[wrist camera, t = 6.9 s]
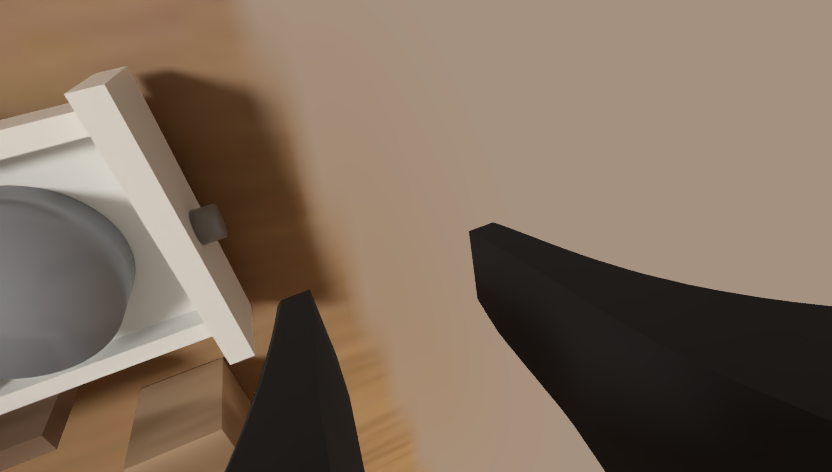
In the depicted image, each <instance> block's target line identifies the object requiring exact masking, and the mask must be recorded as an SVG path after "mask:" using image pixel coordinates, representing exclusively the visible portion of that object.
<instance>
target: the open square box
mask: <svg viewBox="0 0 832 472" xmlns="http://www.w3.org/2000/svg"><path fill="white" fill-rule="evenodd" d="M79 387H80V386H77V387H74V388H71V389H69V390H66V391H63V392H61V393H58V394H55V395H53V396H50V397H47V398H45V399H42V400H39V401H37V402H34V403H31V404H28V405H26V406H23V407H20V408H18V409H15V410H12V411H10V412H7V413H4V414H2V415H0V471H2V470H5V469H8V468H10V467H13V466H15V465H18V464H20V463H23V462H25V461H28V460H30V459H33V458H35V457H38V456H40V455H43V454H45V453H48V452H51V451H53V450H56V449H57V447H58V444H59V441H60V439H61V436H62V433H63V430H64V428H65V425H66V422H67V420H68V417H69V414H70V412H71V409H72V406H73V403H74V401H75V398H76V395H77V393H78V390H79Z"/></svg>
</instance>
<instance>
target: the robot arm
mask: <svg viewBox="0 0 832 472" xmlns="http://www.w3.org/2000/svg"><path fill="white" fill-rule="evenodd" d="M469 235H470V243H471V251H472V258H473V266H474V274H475V282H476V290H477V298H478V300H479V302H480V303H481V305H482V307H483V308H484V310H485V312H486V313H487V315H488V317H489V318H490V319H491V321H492V322H493V324H494V326H495V327H496V329H497V331H498V332H499V334H500V335H501V336H502V337H503V338H504V340H505V341H506V342H507V343H508V345H509V346H510V347H511V348H512V349H513V351H514V352H515V353H516V355H517V356H518V357H519V358H520V359H521V361H522V362H523V363H524V364H525V365H526V367H527V368H528V369H529V370H530V371H531V373H532V374H533V375H534V376H535V377H536V379H537V380H538V381H539V382H540V383H541V385H542V386H543V387H544V388H545V390H546V391H547V392H548V393H549V394H550V395H551V397H552V398H553V399H554V400H555V401H556V403H557V404H558V405H559V406H560V408H561V409H562V410H563V412H564V413H565V414H566V415H567V417H568V418H569V419H570V421H571V422H572V423H573V425H574V426H575V427H576V429H577V430H578V432H579V433H580V435H581V436H582V438H583V439H584V441H585V442H586V444H587V445H588V447H589V448H590V449H591V451H592V452H593V454H594V455H595V457H596V458H597V460H598V461H599V463H600V464H601V466H602V467H603V469H604V470H605V472H832V306H824V305H815V304H806V303H797V302H789V301H782V300H774V299H767V298H760V297H754V296H748V295H742V294H736V293H729V292H724V291H718V290H713V289H708V288H703V287H697V286H693V285H687V284H684V283H679V282H675V281H670V280H666V279H662V278H658V277H654V276H650V275H646V274H642V273H638V272H635V271H631V270H628V269H624V268H621V267H618V266H614V265H611V264H608V263H605V262H601V261H598V260H595V259H592V258H589V257H586V256H583V255H580V254H578V253H575V252H572V251H569V250H566V249H563V248H561V247H558V246H555V245H552V244H550V243H547V242H545V241H542V240H539V239H537V238H534V237H531V236H529V235H526V234H524V233H521V232H518V231H515V230H513V229H510V228H507V227H505V226H502V225H499V224H496V223H490V224H488V225H485V226H482V227H479V228H477V229H474V230H471V231H469ZM224 472H365V471H364V466H363V461H362V456H361V451H360V446H359V441H358V436H357V431H356V427H355V422H354V417H353V412H352V407H351V402H350V397H349V394H348V391H347V387H346V384H345V381H344V378H343V375H342V372H341V368H340V365H339V362H338V359H337V356H336V353H335V351H334V348H333V346H332V344H331V341H330V339H329V336H328V334H327V331H326V329H325V326H324V324H323V321H322V319H321V316H320V314H319V311H318V309H317V306H316V304H315V302H314V299H313V297H312V294H311V292H310V290H308V291H305V292H302V293H299V294H297V295H294V296H291V297H288V298H286V299H283V300H281V301H280V303H279V305H278V307H277V314H276V319H275V324H274V329H273V333H272V338H271V342H270V346H269V350H268V353H267V357H266V360H265V364H264V367H263V370H262V374H261V377H260V381H259V384H258V387H257V390H256V393H255V396H254V398H253V401H252V404H251V407H250V409H249V412H248V415H247V418H246V420H245V423H244V426H243V429H242V431H241V434H240V436H239V439H238V441H237V444H236V446H235V449H234V451H233V453H232V456H231V458H230V460H229V463H228V465H227V467H226V469H225V471H224Z"/></svg>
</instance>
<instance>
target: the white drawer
mask: <svg viewBox="0 0 832 472" xmlns="http://www.w3.org/2000/svg"><path fill="white" fill-rule="evenodd" d="M64 95H65V97H66V98H67V100H68V102H69V103H67V104H63V105H59V106H55V107H51V108H47V109H42V110H38V111H34V112H30V113H26V114H22V115H18V116H14V117H10V118H6V119H2V120H0V186H5V185H13V186H28V187H35V188H42V189H46V190H50V191H54V192H58V193H61V194H64V195H66V196H69V197H72V198H74V199H76V200H79V201H81V202H83V203H85V204H87V205H88V206H90V207H92V208H94V209H95V210H97V211H98V212H100V213H101V214H102V215H104V216H105V217H107V218H108V219H109V220H110V221H111V222H112V223H113V224H114V225H115V226H116V227H117V228H118V229H119V230H120V232H121V233H122V234H123V235H124V237H125V238H126V240H127V242H128V243H129V245H130V248H131V250H132V252H133V256H134V260H135V267H136V274H135V281H134V284H133V288H132V291H131V294H130V298H129V301H128V304H127V308H126V311H125V314H124V318H123V321H122V324H121V326H120V328H119V330H118V332H117V334H116V335H115V336H114V338H113V339H112V340H111V341H110V342H109V343H108V345H107V346H106V347H105V348H104V349H102V350H101V351H100V352H98V353H97V354H96V355H94V356H93V357H91V358H89V359H88V360H86V361H85V362H82V363H80V364H78V365H76V366H74V367H71V368H68V369H66V370H63V371H60V372H56V373H52V374H48V375H43V376H38V377H31V378H20V379H0V415H2V414H4V413H7V412H10V411H12V410H15V409H18V408H20V407H23V406H26V405H28V404H31V403H34V402H37V401H39V400H42V399H45V398H47V397H50V396H53V395H55V394H58V393H61V392H63V391H66V390H69V389H71V388H74V387H77V386H80V385H82V384H85V383H88V382H90V381H93V380H96V379H98V378H101V377H104V376H106V375H109V374H112V373H115V372H117V371H120V370H123V369H125V368H128V367H131V366H133V365H136V364H139V363H141V362H144V361H147V360H149V359H152V358H155V357H158V356H160V355H163V354H166V353H168V352H171V351H174V350H176V349H179V348H182V347H184V346H187V345H190V344H193V343H195V342H198V341H201V340H203V339H206V338H209V337H211V336H213V338H214V339H215V341H216V343H217V344H218V346H219V348H220V349H221V351H222V352H223V354H224V356H225V357H226V359H227V361H228V362H229V364H230V365H232V364H234V363H237V362H239V361H242V360H244V359H247V358H250V357H252V356H255V347H254V334H253V320H252V306H251V304H250V302H249V300H248V299H247V297H246V295H245V293H244V291H243V289H242V287H241V285H240V283H239V281H238V279H237V277H236V275H235V273H234V271H233V269H232V268H231V266H230V264H229V262H228V260H227V258H226V256H225V254H224V252H223V250H222V248H221V246H220V244H219V242H218V240H221V239H224V238H227V237H228V232H227V228H226V224H225V222H224V219H223V217H222V214H221V212H220V210H219V209H218V207H217V206H216V204H214V203H213V204H210V205H206V206H203V207H200V205H199V204H198V202H197V200H196V198H195V196H194V194H193V192H192V190H191V188H190V186H189V184H188V182H187V180H186V178H185V176H184V174H183V173H182V171H181V169H180V167H179V165H178V163H177V161H176V159H175V157H174V155H173V153H172V151H171V149H170V147H169V145H168V143H167V142H166V140H165V138H164V136H163V134H162V132H161V130H160V128H159V126H158V124H157V122H156V120H155V118H154V116H153V114H152V112H151V110H150V109H149V107H148V105H147V103H146V101H145V99H144V97H143V95H142V93H141V91H140V89H139V87H138V85H137V83H136V81H135V79H134V78H133V76H132V74H131V72H130V70H129V68H128V66H124V67H120V68H116V69H111V70H107V71H103V72H99V73H95V74H93V75H92V76H90V77H89V78H87V79H86V80H84V81H83V82H81V83H80V84H78V85H77V86H75V87H74V88H72V89H71V90H69V91H68V92H66V93H65V94H64Z"/></svg>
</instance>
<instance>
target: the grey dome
mask: <svg viewBox="0 0 832 472" xmlns="http://www.w3.org/2000/svg"><path fill="white" fill-rule="evenodd" d="M135 274H136V267H135V260H134V256H133V252H132V250H131V248H130V245H129V243H128V242H127V240H126V238H125V237H124V235H123V234H122V233H121V232H120V230H119V229H118V228H117V227H116V226H115V225H114V224H113V223H112V222H111V221H110V220H109V219H108V218H107V217H105V216H104V215H102V214H101V213H100V212H98V211H97V210H95V209H94V208H92V207H90V206H88V205H87V204H85V203H83V202H81V201H79V200H76V199H74V198H72V197H69V196H66V195H64V194H61V193H58V192H54V191H50V190H46V189H42V188H35V187H28V186H13V185H5V186H0V379H20V378H31V377H38V376H43V375H48V374H52V373H56V372H60V371H63V370H66V369H68V368H71V367H74V366H76V365H78V364H80V363H82V362H85V361H86V360H88V359H89V358H91V357H93V356H94V355H96V354H97V353H98V352H100V351H101V350H102V349H104V348H105V347H106V346H107V345H108V343H109V342H110V341H111V340H112V339H113V338H114V336H115V335H116V334H117V332H118V330H119V328H120V326H121V324H122V321H123V318H124V314H125V311H126V308H127V304H128V301H129V298H130V294H131V291H132V288H133V284H134V281H135Z"/></svg>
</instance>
